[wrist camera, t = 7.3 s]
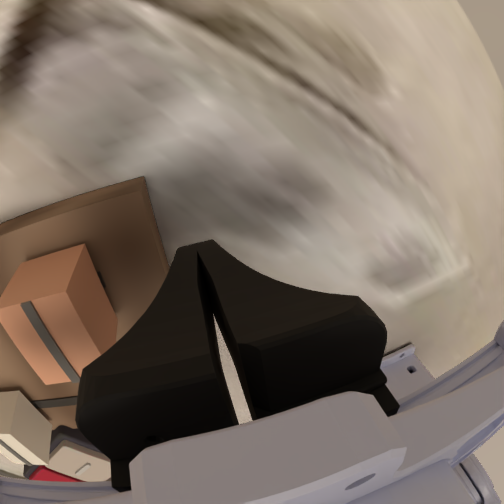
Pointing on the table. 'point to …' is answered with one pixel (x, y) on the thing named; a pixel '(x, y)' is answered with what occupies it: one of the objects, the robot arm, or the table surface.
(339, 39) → the table surface
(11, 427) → the ivory fader
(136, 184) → the mixer panel
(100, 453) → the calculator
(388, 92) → the table surface
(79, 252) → the terracotta fader
